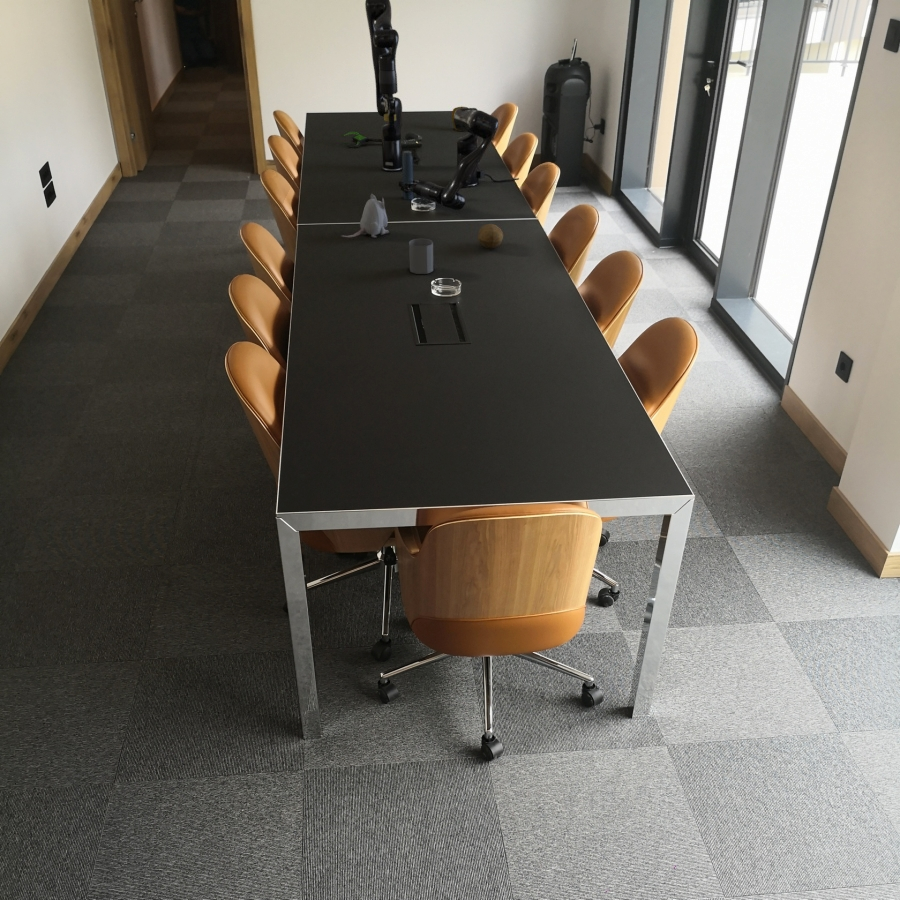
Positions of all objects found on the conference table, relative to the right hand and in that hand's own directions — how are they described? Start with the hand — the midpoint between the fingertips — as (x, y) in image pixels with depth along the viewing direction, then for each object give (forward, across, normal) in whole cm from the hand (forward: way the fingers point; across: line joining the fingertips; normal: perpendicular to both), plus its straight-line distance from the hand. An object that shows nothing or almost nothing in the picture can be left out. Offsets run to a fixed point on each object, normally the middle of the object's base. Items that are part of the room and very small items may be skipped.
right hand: (404, 182), depth 380 cm
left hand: (+13, -3, -23) cm, 26 cm away
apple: (+82, -102, +6) cm, 131 cm away
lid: (+13, -3, -25) cm, 29 cm away
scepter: (+86, -43, +6) cm, 97 cm away
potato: (-73, +14, +6) cm, 74 cm away
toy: (-34, +45, +6) cm, 57 cm away
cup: (-75, +49, +6) cm, 90 cm away
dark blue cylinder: (-3, 0, +6) cm, 7 cm away
